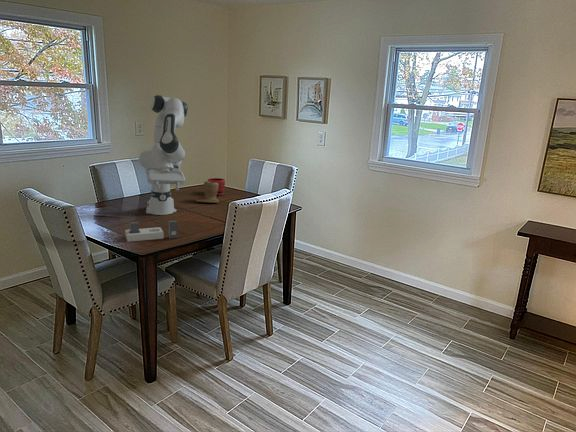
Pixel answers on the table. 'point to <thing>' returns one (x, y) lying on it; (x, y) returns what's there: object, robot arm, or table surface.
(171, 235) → the plug
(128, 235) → the power strip
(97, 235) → the table surface
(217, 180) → the plant pot
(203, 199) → the tan boot
